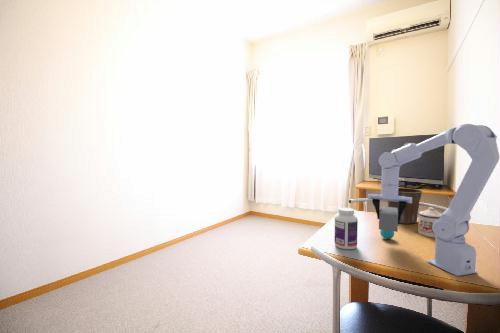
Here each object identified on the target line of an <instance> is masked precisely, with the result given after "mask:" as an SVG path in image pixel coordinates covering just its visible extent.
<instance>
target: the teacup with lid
mask: <svg viewBox="0 0 500 333" xmlns="http://www.w3.org/2000/svg"><path fill="white" fill-rule="evenodd" d="M442 214H443V212H439V211H438V210H435V208H434V207H431V206H430V207H428V209H425V210H420V211H418V229H417V230H418V234H419V235H422V236H424V237H428V238H435V239H436V235H435V234H434V232H433V230H432V225H433V223H434V222H435V221H436V220H438V219H439V218H440V217H441V215H442Z"/></svg>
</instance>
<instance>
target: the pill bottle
mask: <svg viewBox="0 0 500 333" xmlns="http://www.w3.org/2000/svg"><path fill="white" fill-rule="evenodd" d="M337 212H338V213H337V214H336V215H335V216H334V245H335V246H336V247H337V248H339V249H341V250H355V249H356V248H357V247H358V222H359V221H358V217H357V216H356V215H355V209H354V208H350V207H338V210H337Z"/></svg>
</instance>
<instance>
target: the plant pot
mask: <svg viewBox="0 0 500 333" xmlns="http://www.w3.org/2000/svg"><path fill="white" fill-rule="evenodd" d="M422 193H424V191H423V190H421V189H416V188H408V187H398V196H404V197H412V203H407V205H406V207H405V209H404V210H403V212H402V215H401V217H400V222H398V224H402V225H403V224H404V225H411V224H416V223H417V222H418V216H419V214H418V213H419V207H420V201H421V199H422V198H421V197H422ZM387 207H393V208H397V209H398V202H394V201H387Z"/></svg>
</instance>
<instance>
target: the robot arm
mask: <svg viewBox="0 0 500 333" xmlns="http://www.w3.org/2000/svg"><path fill="white" fill-rule="evenodd" d="M497 137H498V136H497V135H496V134H495V132H494V131H493V130H492V128H490V127H488V126H487V125H481V124H478V125H477V124H472V123H464V124H460V125H459V126H457V127H456V126H455V127H452V128H449V129H447V130H445V131H443V132H441V133H439V134H437V135H434V136H433V137H430V138H428V139H426V140H424V141H422V142H419V143H415V142H406V143H404V144H403V146H401V147H399V148H393V149H392V150H391V152H389V151H384V152H383V153H382V154H380V156H379V157H378V163H379V165H380V167H381V175H380V176H381V179H380V180H381V182H380V194H378V193H377V194H376V193H368V194H367V200H369V201H371V200H372V204H373V206H374V209H375V212H376V215H377V220H379V212H380V206H381V205H380V204H381V201H383V202H384V201H385V202H388V201H394V202H398V222H400V217H401V215H402V212H403V210H404V209H405V207H406V205H407V203H412V197H404V196H398V188H399V183H400V180H399V179H400V169H401V166H403V165H404V164H407V163H409V162H412V161H414V160H417V159H420V158H421V157H422V154H423V153H426V152H429V151H431V150H434V149H437V148H440V147H443V146H446V145H452V144H453V145H458V146H459V147H460V148H462V149H463V150H464V151H466V153H467V155H469V157H470V159H471V162H470V164H469V166H468V168H467V170H466V172H465V174H464V176H463V178H462V180H461V182H460V183H459V184H460V185H459V186H458V188H457V190H456V191H455V194H454V196H453V198H452V200H451V202H450V204H449V206H448V208H446V210H445V211H444V212H442V215H441V217H440V218H439V219H438V220H436V221H435V222H434V223H433V225H432V230H433V232H434V234H435V235H436V238H435V239H434V240H435V241H434V243H435V245H434V259H430V260H427V263H429V264H431V265H432V266H435V267H437V268H439V269H440V270H444V271H446V272H447V273H450V274H452V275H455V276H458V277H459V276H466V275H470V274H476V273H477V272H478V271H477V270H476V261H477V251H476V248H475V247H474V246H472V245H470V244H468V243H467V242H466V238H465V235H466V234H468V233H469V230H470V220H471V219H472V217H471V213H472V211H473V209H474V206H476V203H477V201H478V200H479V198H480V195H481V194H482V193H483V190H484V189H485V186H486V185H487V183H488V181H489V180H490V178H491V175H492V174H493V172H494V169H495V168H496V167H497V165H498V163H499V161H500V153H499V148H498V144H497Z"/></svg>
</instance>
